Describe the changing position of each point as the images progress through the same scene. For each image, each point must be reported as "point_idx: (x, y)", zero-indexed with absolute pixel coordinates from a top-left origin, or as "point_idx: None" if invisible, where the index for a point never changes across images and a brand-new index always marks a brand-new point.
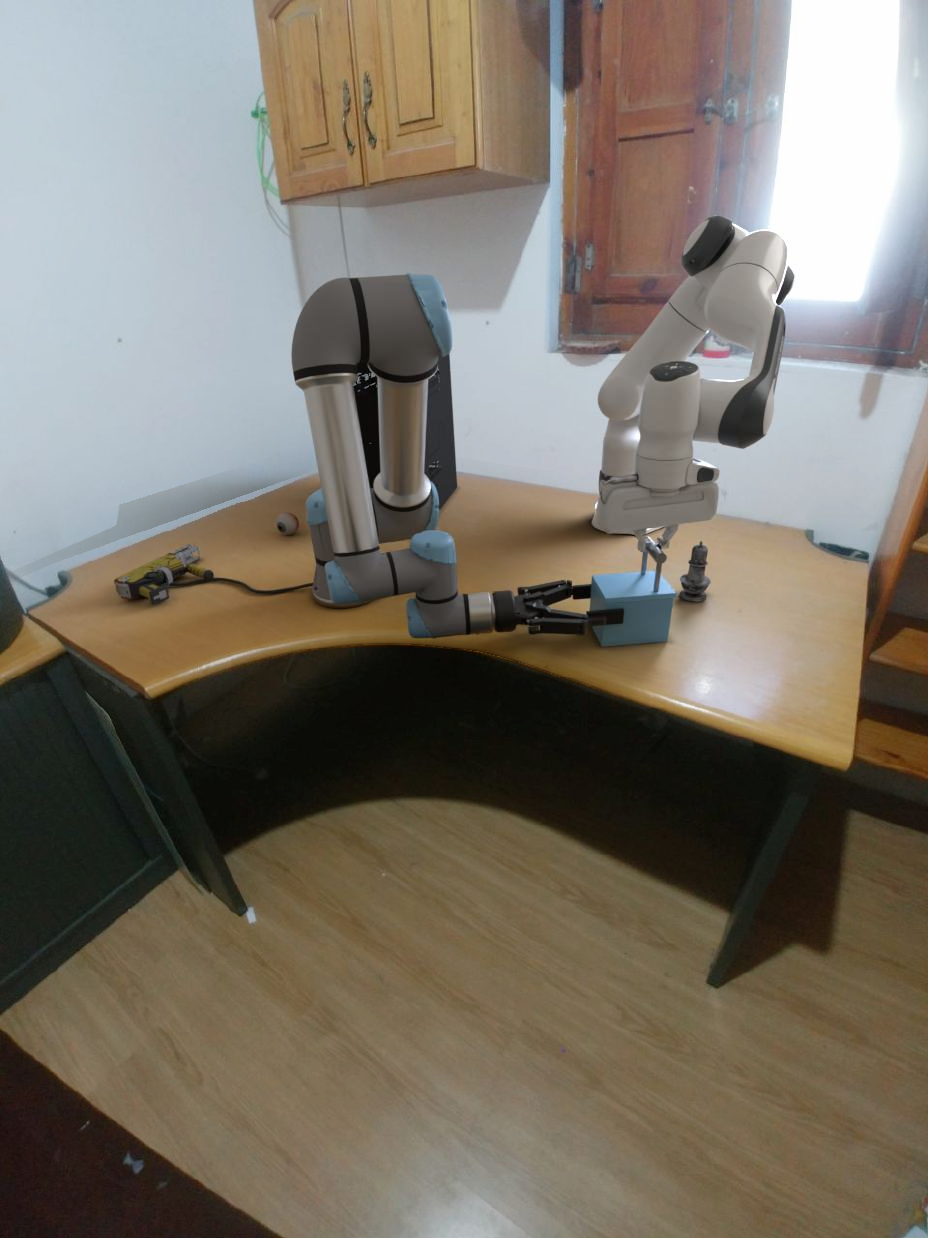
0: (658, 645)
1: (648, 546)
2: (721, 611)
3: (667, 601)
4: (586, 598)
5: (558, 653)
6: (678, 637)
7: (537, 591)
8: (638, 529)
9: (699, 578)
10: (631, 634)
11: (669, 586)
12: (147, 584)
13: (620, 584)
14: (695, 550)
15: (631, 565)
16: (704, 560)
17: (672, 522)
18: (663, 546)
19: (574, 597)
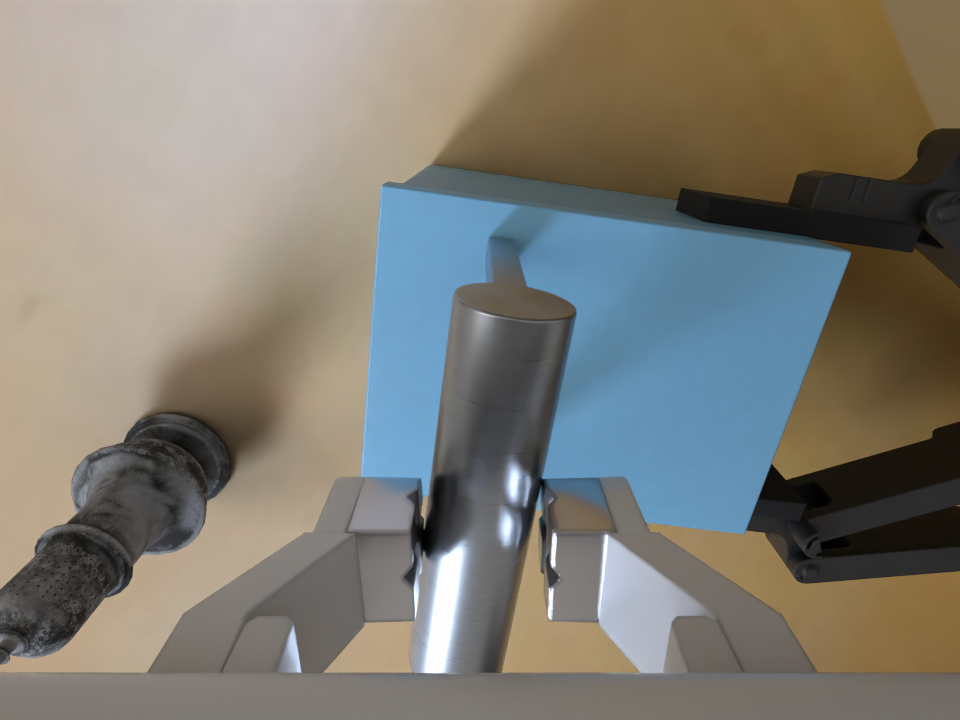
0: (481, 146)
1: (568, 503)
2: (106, 323)
3: (441, 187)
4: None
5: None
6: (369, 182)
7: (950, 533)
8: (909, 674)
9: (120, 485)
10: (601, 193)
11: (386, 282)
12: None
13: (659, 392)
14: (61, 614)
15: None
16: (44, 551)
17: (247, 715)
18: (395, 487)
19: (772, 470)
